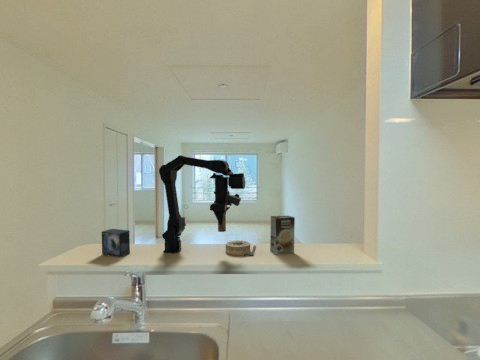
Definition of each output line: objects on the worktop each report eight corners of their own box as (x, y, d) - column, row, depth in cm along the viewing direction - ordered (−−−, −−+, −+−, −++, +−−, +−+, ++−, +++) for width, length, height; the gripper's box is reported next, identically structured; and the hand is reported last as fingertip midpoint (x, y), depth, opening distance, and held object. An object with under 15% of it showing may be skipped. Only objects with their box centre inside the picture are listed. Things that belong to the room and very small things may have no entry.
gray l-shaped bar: (243, 255, 122) (243, 254, 122) (247, 246, 136) (247, 245, 136) (253, 255, 122) (253, 254, 122) (255, 246, 136) (255, 245, 136)
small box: (100, 255, 124) (100, 231, 123) (112, 251, 130) (112, 228, 129) (119, 257, 120) (118, 233, 119) (130, 253, 126) (130, 230, 125)
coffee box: (276, 255, 123) (276, 218, 122) (269, 251, 129) (270, 216, 128) (294, 253, 126) (294, 217, 125) (287, 249, 132) (288, 215, 131)
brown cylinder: (217, 231, 123) (217, 208, 122) (218, 230, 126) (218, 207, 126) (225, 231, 122) (224, 208, 122) (226, 230, 126) (226, 207, 125)
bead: (224, 254, 124) (223, 246, 124) (228, 247, 135) (228, 240, 135) (248, 255, 123) (248, 247, 123) (251, 248, 134) (251, 240, 134)
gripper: (236, 190, 113) (236, 228, 114) (242, 187, 132) (242, 220, 132) (209, 190, 115) (209, 228, 115) (219, 187, 133) (219, 220, 134)
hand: (221, 224), depth 124 cm, fingers closed on brown cylinder, 3 cm apart
